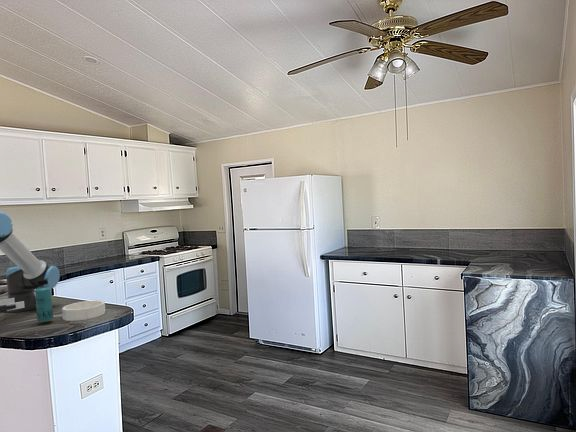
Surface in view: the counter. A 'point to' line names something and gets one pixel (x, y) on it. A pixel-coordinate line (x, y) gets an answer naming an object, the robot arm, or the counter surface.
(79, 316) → the bowl
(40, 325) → the counter surface
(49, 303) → the beverage bottle
